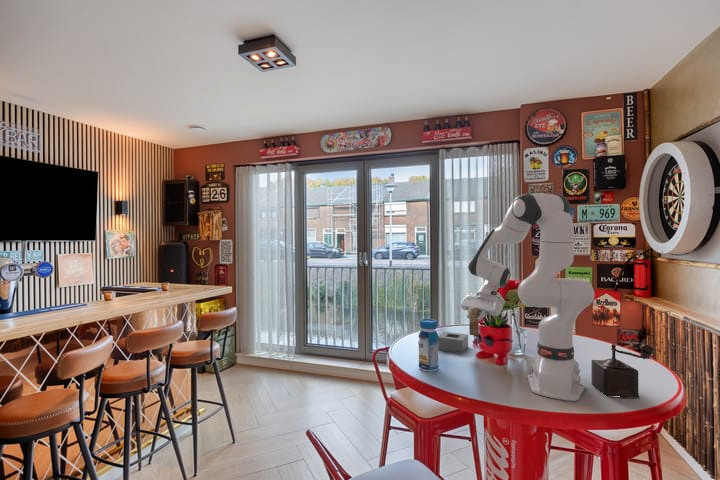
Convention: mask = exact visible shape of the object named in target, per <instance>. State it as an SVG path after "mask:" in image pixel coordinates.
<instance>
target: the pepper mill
mask: <svg viewBox="0 0 720 480" xmlns="http://www.w3.org/2000/svg"><path fill="white" fill-rule="evenodd" d="M616 347H617V346H616V344H615V343H611V349H610V350H611V352H612V353H611V354H612V355H611V358H606V359H591V383H590V384H591V386H592V385H593V386H594V387H595V388H594V387H593V386H592V387H593V388H594V389H596V390H597V389H598V390H599V391H600V392H599V391H598V390H597V391H598V392H599V393H601V392H602V393H603V394H604V395H606V396H620V397H639V398H640V395H639V394H640V393H639V370H637V369H636V368H634V367H632V366H631V365H628V364H627V363H625V362H623V361H621V360H620V359H617V358H616V352H617V353H619V354H624V355H627V356H628V355H629V356H630V357H631V356H632V357H635V358H637V359H643V360H646V359H647V360H651V355H652V354H654V353H655V348H654V346H652V345H651V344H647V343H643V344H642V343H641V344H640V346H639V349H640V351H641V353H640V354H635V353H633V352H629V351H624V350H618V349H616ZM602 393H601V394H602ZM603 394H602V395H603ZM604 395H603V396H604ZM606 396H605V397H606Z"/></svg>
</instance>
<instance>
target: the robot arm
mask: <svg viewBox="0 0 720 480" xmlns="http://www.w3.org/2000/svg"><path fill="white" fill-rule="evenodd" d="M570 205H571V204H570V201H569V200H568V198H567V197H566V196H564V195H562V194H558V193H553V194H551V193H542V192H537V193H536V192H535V193H524V194H519V195H518V196H516V197H515V198H514V199H513V201H512V203H511V205H509V208H508V209H507V211H506V213H505V214H504V217H503V220H502V221H501V224H500V225H499V226H497V227H493V228H492V229H490V231H489V232H488V233H487V235H486V237H485V239H484V240H483V241H482V243H481V244H480V246H479V248H478V249H477V251H476V253H475V254H474V256H473V257H472V258H471V259H470V261H469V263H468V266H467V268H468V271H469V273H470V275H472V276H476V277H479V278H481V279H483V280H484V281H483V283H482V284H481V285H480V287H479V288H478V290H477V291H476V293H469V294H467V295H466V296H465V297H463V299H462V300H461V302H460V303H459V306H460V308H461V309H462V310H463V311H467V314H466V319H469V308H470V307H475V308H479V315H477V317H476V319H477V320H479V322H481V320H482V319H483V318H484V317H486V316H487V315H489V316H496V317H498V316H499V315H500V314H501V313H502V311H503V309H504V305H505V303H506V301H505V299H504V298H503V296H502V294H501V293H500V292H499V293H498V292H497V290H498V288H502V289H503V288H505V287H506V286H507V284H508V282H509V281H510V278H511V276H512V275H511V271H510V268H509V267H507V265H505V264H502V263H500V262H497V261H494V260H492V259H490V258H488V257H487V256H486V255H487V253H488V252H489V250H490V249H491V247H492V246H494V245H517V244H519V243H521V242H523V241H524V240H525V239H526V237H527V235H528V234H529V232H530V230H531V227H532V226H533V225H535V224H536V225H538V227H539V229H540V233H539V234H540V235H539V237H540V238H539V252H538V253H539V254H538V260H537V263H536V266H535V268H534V270H533V271H532V272H531V273H530V275H528V276H527V277H526V278H525V279H523V280H522V281H521V282H520V283H519V285H518V287H517V295H518V298H519V300H520V301H521V303H522V304H523V305H524V306H525V305H526V306H530V307H532V308H533V307H534V308H553V311H552V313H551V314H550V315H548V316H546V317H544V318H541V320H540V321H539V323H538V342H537V346H536V348H537V354H536V355H534V356H533V364H532V365H533V366H532V367H533V369H531V372H532V373H531V374H527V380H528V384H529V387H530V390H531V392H532V393H534V394H535V395H536V394H537V395H539V396H543V397H547V398H549V399H550V398H551V399H557V400H562V401H568V402H572V401H573V402H574V401H575V402H577V401H579V400H580V398H581V397H582V395H583V394H584V391H585V390H586V384H585V383H584V382H581V375H580V373H581V369H580V368H579V367H580V364H579V362H578V361H577V360H575V348H574V346H573V335H574V325H575V323H576V320H577V318H579V317H578V316H579V315H580V314H581V312H583V311H584V310H585V309H586V308H588V307H589V306H591V304H592V303H593V302H594V299H595V290H594V288H593V286H592V285H591V283H590V282H589V281H587V280H584V279H578V278H571V277H567V278H566V277H565V278H564V277H563V278H562V277H557V276H558V275H559V273H560V272H561V271H562V270H565V269H567V268H568V267H571V265H572V264H573V263H574V259H575V256H574V255H575V254H574V253H575V227H574V221H573V217H572V215H571V214H569V212H570V208H571V206H570ZM507 281H508V282H507ZM495 286H496V287H495ZM493 289H494V290H493ZM488 301H489V302H488Z"/></svg>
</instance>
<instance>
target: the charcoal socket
mask: <svg viewBox="0 0 720 480" xmlns="http://www.w3.org/2000/svg"><path fill="white" fill-rule="evenodd" d="M438 337H439V338H438V342H439V346H438V351H445V352H453V353H459V354H463V353H464V352H465V351H466V350H467V348H468V347H469V334H466V333H457V332H450V331H449V332H448V331H444V332H442V333H441V334H440V335H439V334H438Z"/></svg>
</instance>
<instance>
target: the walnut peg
mask: <svg viewBox="0 0 720 480" xmlns="http://www.w3.org/2000/svg"><path fill="white" fill-rule="evenodd" d="M477 315H480V313H479V308H475V307H470V308H469V318H468V319H469V321H468V322H469V336H479V333H480V329H479V323H480V321H479V320H477V319H476V317H477Z"/></svg>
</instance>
